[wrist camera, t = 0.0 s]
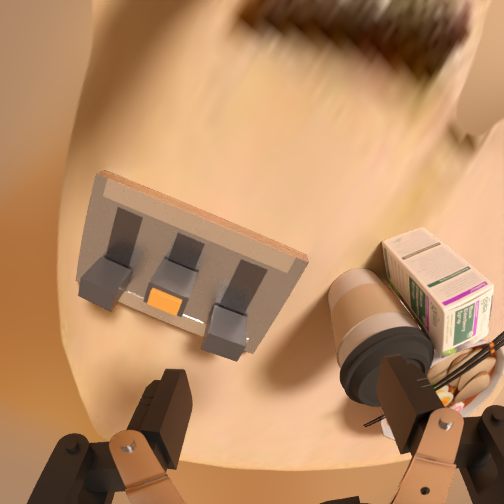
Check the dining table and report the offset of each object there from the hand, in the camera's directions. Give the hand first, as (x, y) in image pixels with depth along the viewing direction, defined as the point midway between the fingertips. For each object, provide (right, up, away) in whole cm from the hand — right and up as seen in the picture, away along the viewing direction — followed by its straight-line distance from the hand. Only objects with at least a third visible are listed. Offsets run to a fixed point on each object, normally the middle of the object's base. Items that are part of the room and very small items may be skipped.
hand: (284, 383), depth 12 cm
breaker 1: (-17, +3, +21) cm, 27 cm away
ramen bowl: (+28, -14, +30) cm, 44 cm away
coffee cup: (+11, 0, +24) cm, 27 cm away
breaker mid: (-9, +3, +21) cm, 23 cm away
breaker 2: (-4, -2, +23) cm, 24 cm away
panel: (-9, +4, +23) cm, 25 cm away
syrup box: (+17, +5, +22) cm, 28 cm away
